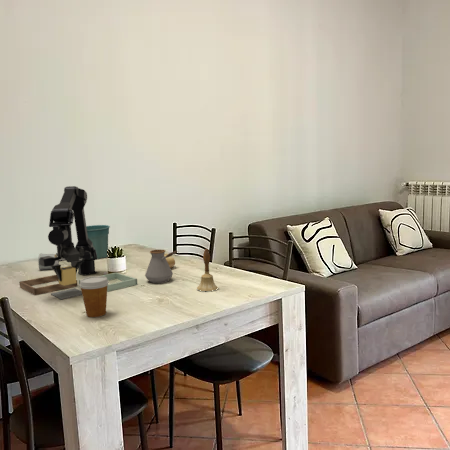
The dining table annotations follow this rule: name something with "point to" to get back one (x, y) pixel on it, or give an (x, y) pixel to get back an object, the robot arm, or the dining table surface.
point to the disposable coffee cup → (94, 295)
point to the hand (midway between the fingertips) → (67, 279)
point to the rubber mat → (67, 293)
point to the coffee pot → (159, 267)
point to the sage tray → (125, 282)
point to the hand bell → (207, 275)
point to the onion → (170, 261)
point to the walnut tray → (36, 291)
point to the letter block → (68, 275)
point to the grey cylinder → (44, 256)
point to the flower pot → (99, 239)
